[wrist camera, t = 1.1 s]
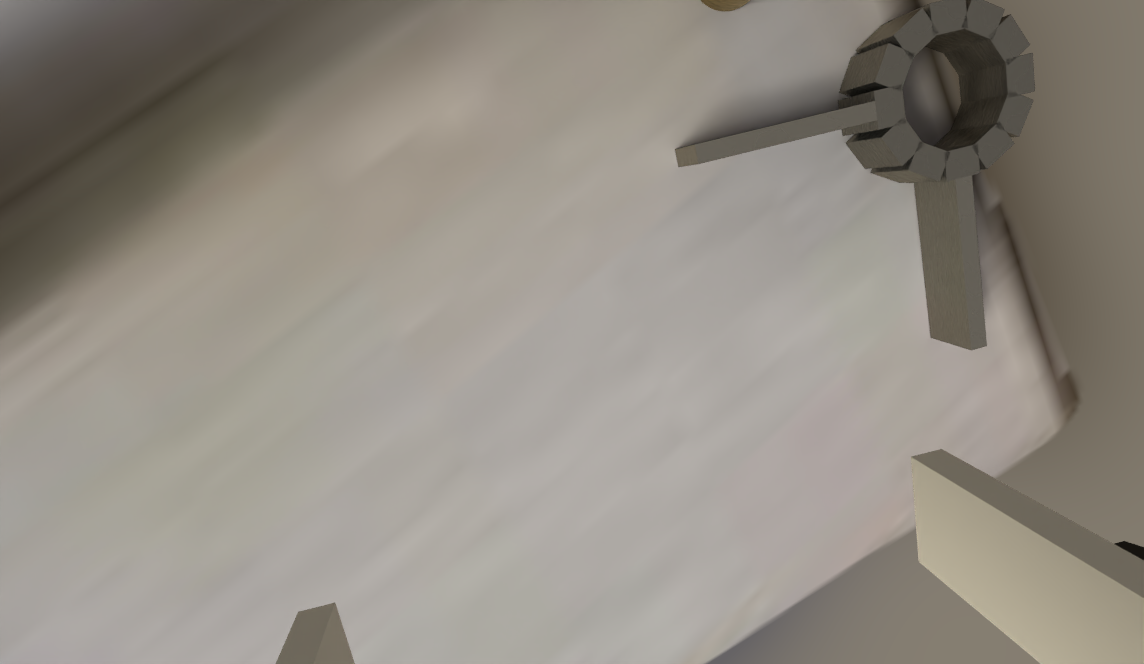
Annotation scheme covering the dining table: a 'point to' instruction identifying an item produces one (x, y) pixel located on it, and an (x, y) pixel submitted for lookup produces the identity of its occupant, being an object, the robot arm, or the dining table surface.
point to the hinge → (896, 152)
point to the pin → (725, 4)
